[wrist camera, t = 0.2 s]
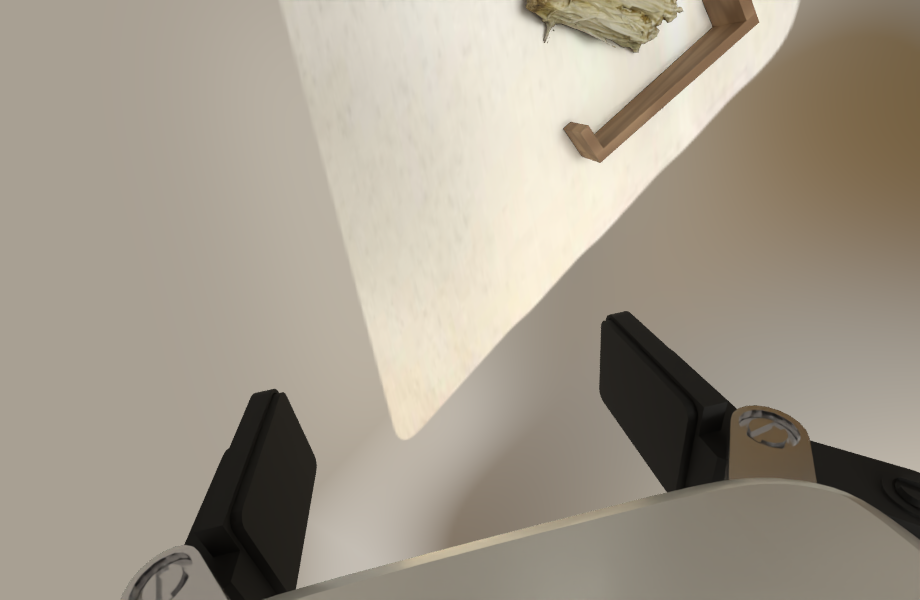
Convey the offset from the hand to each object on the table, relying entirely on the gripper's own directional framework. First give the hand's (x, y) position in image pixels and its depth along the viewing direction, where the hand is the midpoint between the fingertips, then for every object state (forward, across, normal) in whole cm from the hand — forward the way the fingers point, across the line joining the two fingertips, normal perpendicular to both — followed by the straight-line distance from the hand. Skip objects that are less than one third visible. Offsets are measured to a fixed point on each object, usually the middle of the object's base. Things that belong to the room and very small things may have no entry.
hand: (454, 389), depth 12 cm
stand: (+37, -27, -5) cm, 46 cm away
